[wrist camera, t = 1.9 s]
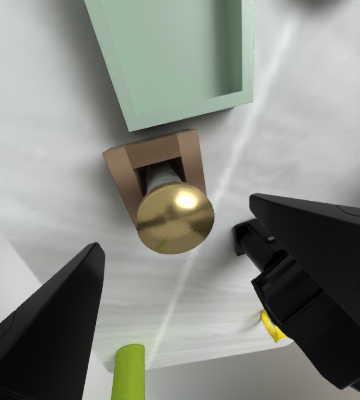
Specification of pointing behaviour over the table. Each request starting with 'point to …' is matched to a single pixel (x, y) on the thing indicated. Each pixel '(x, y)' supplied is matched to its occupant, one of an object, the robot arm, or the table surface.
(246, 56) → the tray
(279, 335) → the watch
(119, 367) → the soap dispenser
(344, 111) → the table surface
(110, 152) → the socket block
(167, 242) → the pin
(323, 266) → the robot arm
